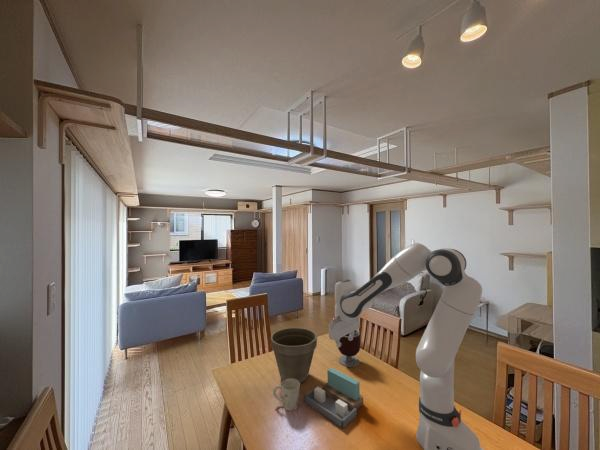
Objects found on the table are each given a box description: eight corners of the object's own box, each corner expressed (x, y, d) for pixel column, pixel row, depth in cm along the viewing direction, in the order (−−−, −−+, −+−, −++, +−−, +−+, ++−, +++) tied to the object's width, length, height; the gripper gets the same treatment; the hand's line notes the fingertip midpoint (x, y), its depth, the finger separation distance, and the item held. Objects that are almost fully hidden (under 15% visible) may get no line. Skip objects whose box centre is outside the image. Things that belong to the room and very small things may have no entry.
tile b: (325, 390, 114) (321, 393, 113) (325, 400, 114) (321, 403, 113) (317, 386, 118) (314, 388, 116) (318, 396, 118) (314, 398, 116)
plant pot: (295, 359, 153) (294, 323, 153) (327, 375, 135) (326, 335, 135) (261, 376, 135) (261, 336, 135) (293, 398, 117) (292, 351, 118)
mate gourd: (332, 360, 150) (331, 327, 150) (347, 353, 159) (346, 321, 159) (353, 371, 138) (352, 335, 139) (368, 362, 147) (367, 328, 148)
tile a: (347, 404, 106) (344, 407, 104) (347, 415, 106) (344, 418, 104) (338, 399, 109) (335, 401, 107) (339, 409, 109) (335, 412, 107)
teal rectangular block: (359, 397, 112) (359, 381, 112) (355, 400, 110) (355, 384, 110) (331, 381, 124) (331, 367, 124) (327, 384, 122) (327, 370, 122)
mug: (298, 414, 107) (297, 390, 107) (270, 410, 110) (269, 387, 110) (301, 401, 115) (301, 379, 115) (275, 397, 118) (275, 376, 118)
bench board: (363, 404, 113) (363, 396, 113) (353, 413, 107) (353, 405, 107) (331, 386, 126) (331, 379, 126) (321, 394, 120) (321, 386, 120)
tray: (356, 416, 106) (356, 408, 106) (342, 429, 99) (342, 421, 99) (318, 392, 121) (318, 386, 121) (304, 402, 114) (304, 395, 114)
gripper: (336, 321, 109) (336, 353, 109) (361, 310, 124) (362, 338, 123) (325, 318, 114) (325, 348, 114) (350, 307, 128) (351, 334, 128)
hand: (344, 343), depth 119 cm, fingers open, 8 cm apart
